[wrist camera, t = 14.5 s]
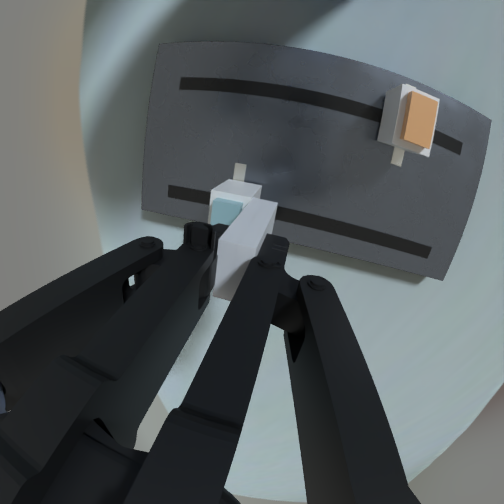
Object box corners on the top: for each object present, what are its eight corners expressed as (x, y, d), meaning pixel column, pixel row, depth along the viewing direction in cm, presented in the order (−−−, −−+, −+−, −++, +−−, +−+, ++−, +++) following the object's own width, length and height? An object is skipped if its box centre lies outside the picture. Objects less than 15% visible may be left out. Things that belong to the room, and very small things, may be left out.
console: (171, 49, 17) (158, 43, 15) (478, 119, 14) (491, 120, 12) (153, 213, 24) (141, 220, 22) (430, 279, 21) (438, 291, 19)
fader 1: (228, 178, 19) (207, 192, 15) (262, 185, 19) (248, 200, 15) (222, 225, 21) (201, 249, 17) (253, 232, 20) (239, 258, 16)
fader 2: (386, 91, 14) (406, 81, 10) (417, 103, 14) (444, 98, 10) (376, 140, 16) (395, 143, 12) (408, 151, 15) (433, 158, 12)
